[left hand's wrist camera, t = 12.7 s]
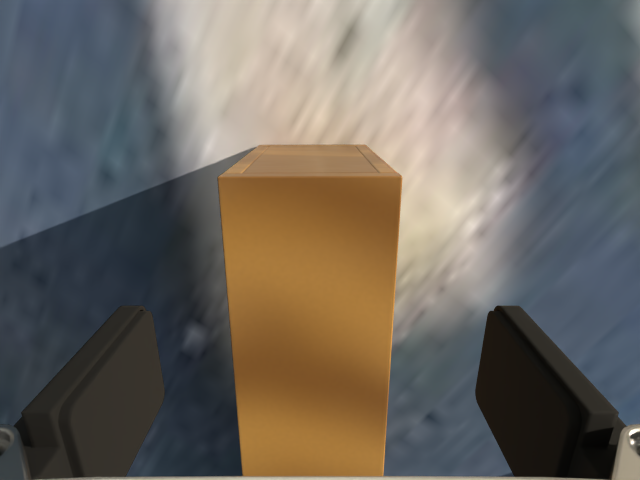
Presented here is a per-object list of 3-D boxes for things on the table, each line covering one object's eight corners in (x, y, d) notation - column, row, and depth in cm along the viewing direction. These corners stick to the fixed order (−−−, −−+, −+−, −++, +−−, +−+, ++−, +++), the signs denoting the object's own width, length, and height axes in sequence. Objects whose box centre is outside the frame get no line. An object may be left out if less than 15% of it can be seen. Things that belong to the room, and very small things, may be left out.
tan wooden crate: (357, 391, 30) (379, 541, 20) (270, 392, 30) (247, 543, 20) (366, 144, 24) (402, 176, 14) (258, 144, 24) (217, 176, 14)
